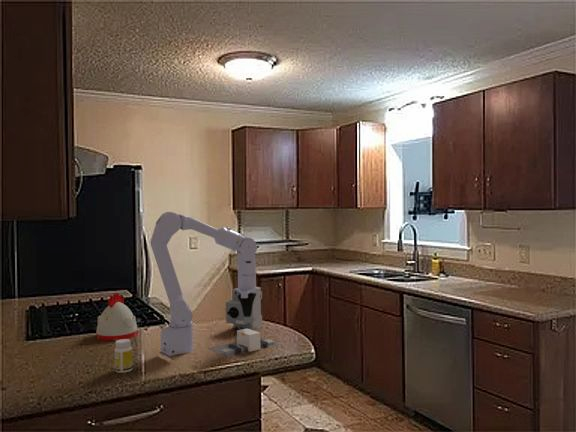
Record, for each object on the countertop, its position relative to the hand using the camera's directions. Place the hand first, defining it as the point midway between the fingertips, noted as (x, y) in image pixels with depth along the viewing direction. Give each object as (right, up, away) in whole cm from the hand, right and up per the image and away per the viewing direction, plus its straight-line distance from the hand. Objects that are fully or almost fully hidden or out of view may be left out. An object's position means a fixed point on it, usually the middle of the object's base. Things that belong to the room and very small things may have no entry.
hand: (247, 316), depth 168 cm
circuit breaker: (-3, -10, +21) cm, 23 cm away
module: (+1, -9, -5) cm, 10 cm away
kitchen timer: (-48, -10, +17) cm, 52 cm away
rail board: (-1, -10, -2) cm, 10 cm away
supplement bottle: (-33, -11, -21) cm, 41 cm away
